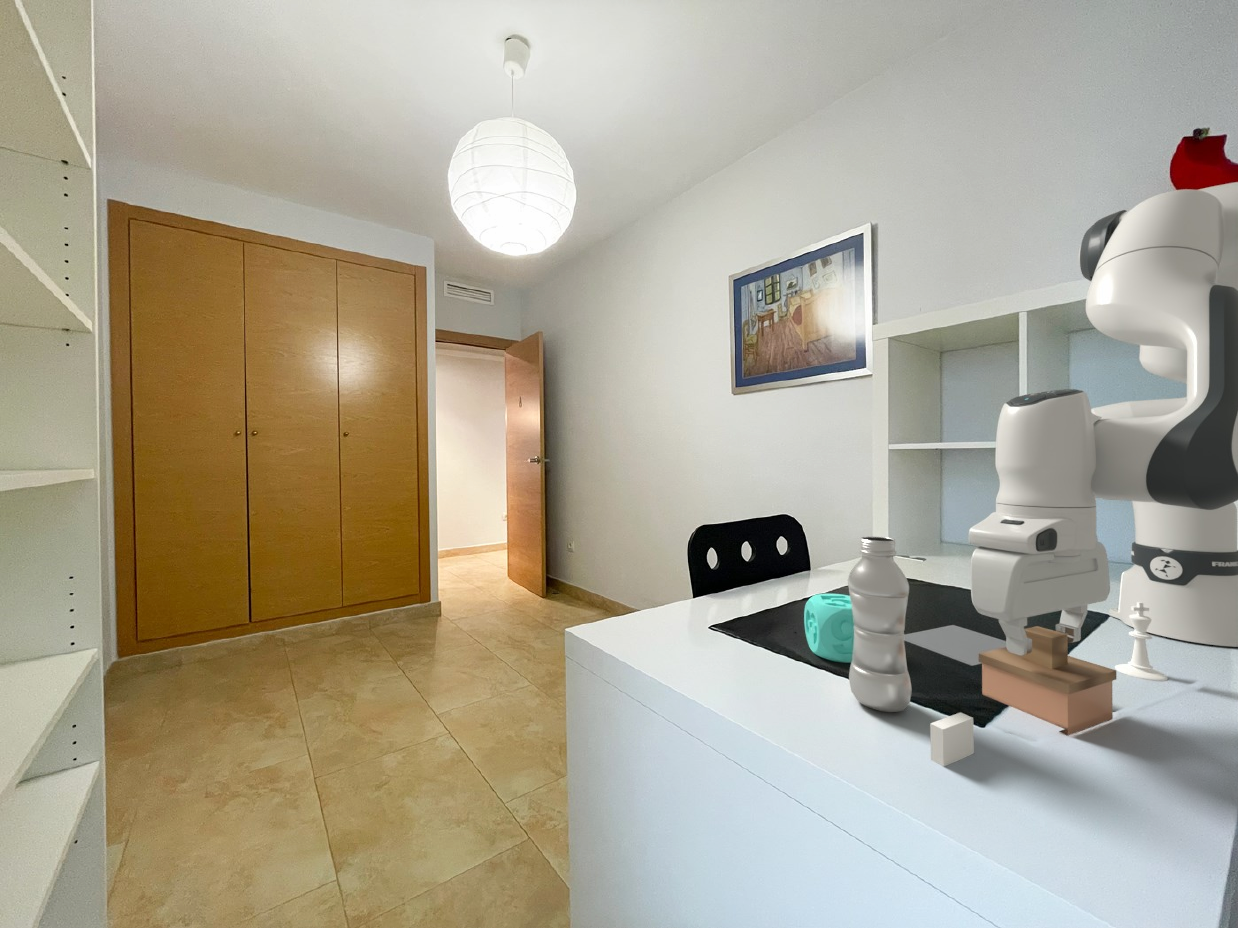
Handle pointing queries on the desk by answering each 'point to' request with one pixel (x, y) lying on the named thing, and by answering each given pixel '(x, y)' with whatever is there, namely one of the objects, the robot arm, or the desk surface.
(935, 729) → the eraser
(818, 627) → the decorative dice
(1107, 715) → the dish
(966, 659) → the mat
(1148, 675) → the chess piece
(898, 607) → the plastic bottle
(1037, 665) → the lid
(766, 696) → the desk surface
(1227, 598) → the robot arm
